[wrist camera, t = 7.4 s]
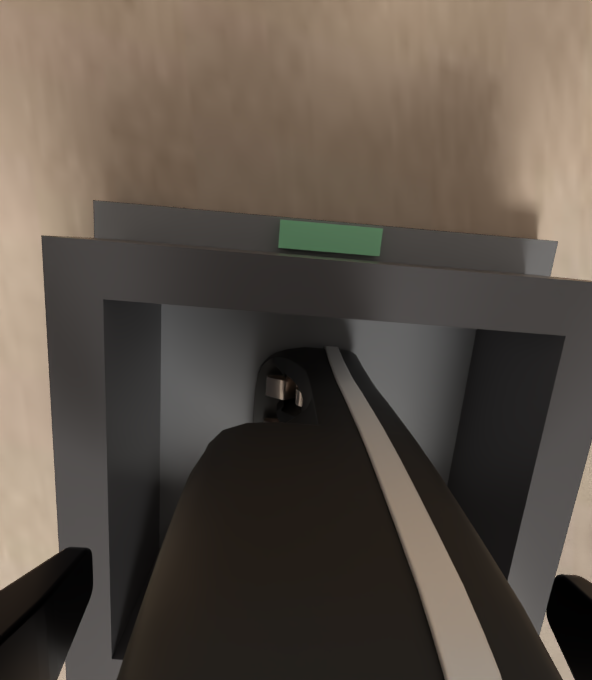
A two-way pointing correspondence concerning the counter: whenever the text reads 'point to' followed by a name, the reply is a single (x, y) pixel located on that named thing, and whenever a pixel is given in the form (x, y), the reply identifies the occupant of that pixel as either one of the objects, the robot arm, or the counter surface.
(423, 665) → the battery charger
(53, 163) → the counter surface
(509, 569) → the dock
